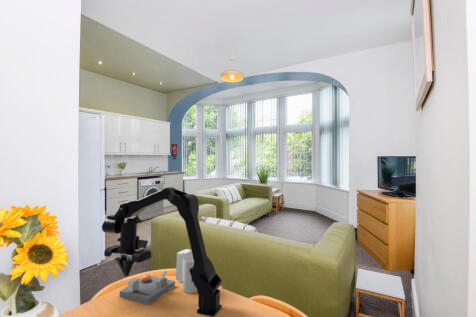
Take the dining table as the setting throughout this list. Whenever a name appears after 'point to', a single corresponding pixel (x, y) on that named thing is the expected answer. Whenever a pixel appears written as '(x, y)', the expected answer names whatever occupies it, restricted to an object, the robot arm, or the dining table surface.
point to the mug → (188, 275)
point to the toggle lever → (163, 276)
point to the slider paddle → (133, 285)
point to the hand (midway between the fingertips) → (126, 276)
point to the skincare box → (181, 263)
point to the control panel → (148, 290)
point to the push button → (146, 278)
